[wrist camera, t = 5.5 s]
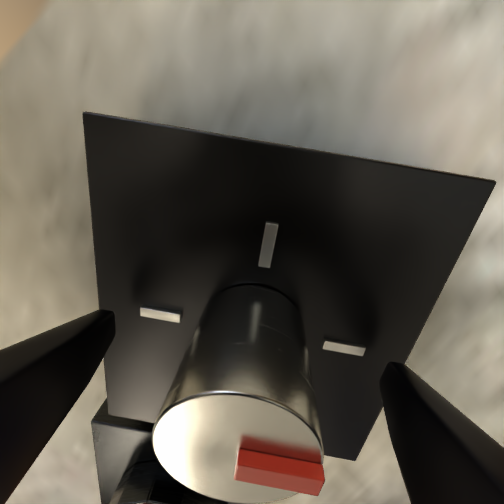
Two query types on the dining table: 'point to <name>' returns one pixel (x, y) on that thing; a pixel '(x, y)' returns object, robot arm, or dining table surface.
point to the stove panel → (268, 255)
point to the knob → (243, 403)
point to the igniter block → (135, 465)
